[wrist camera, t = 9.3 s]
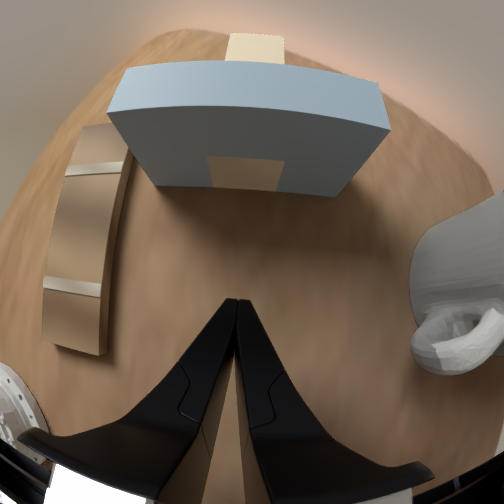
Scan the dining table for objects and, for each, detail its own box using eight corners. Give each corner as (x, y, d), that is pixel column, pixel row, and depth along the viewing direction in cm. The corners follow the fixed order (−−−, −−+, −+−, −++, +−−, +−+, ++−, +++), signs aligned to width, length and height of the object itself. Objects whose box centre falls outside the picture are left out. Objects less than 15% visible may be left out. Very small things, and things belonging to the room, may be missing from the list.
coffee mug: (469, 212, 18) (549, 169, 8) (495, 317, 16) (579, 311, 6) (350, 254, 16) (457, 196, 7) (385, 393, 15) (488, 444, 5)
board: (107, 353, 15) (97, 356, 13) (51, 338, 14) (41, 339, 13) (141, 129, 18) (136, 119, 16) (89, 134, 18) (82, 126, 16)
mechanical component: (70, 441, 13) (5, 340, 14) (41, 462, 9) (-30, 342, 10) (31, 470, 12) (-23, 388, 13) (8, 486, 7) (-50, 393, 8)
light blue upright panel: (335, 197, 17) (391, 130, 9) (154, 186, 17) (106, 112, 9) (323, 77, 20) (346, 7, 12) (186, 68, 19) (173, -4, 11)
